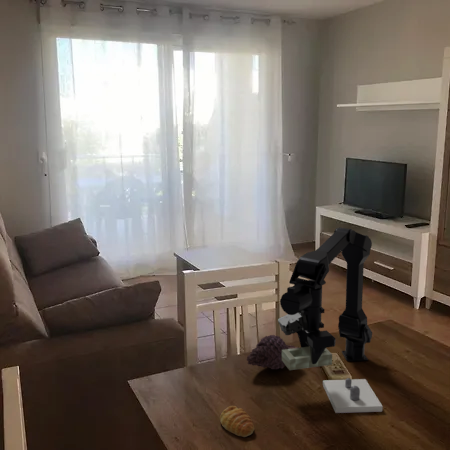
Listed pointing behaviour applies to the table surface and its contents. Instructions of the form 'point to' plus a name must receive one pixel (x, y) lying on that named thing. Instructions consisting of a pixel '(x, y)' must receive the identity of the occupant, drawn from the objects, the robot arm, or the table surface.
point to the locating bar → (304, 358)
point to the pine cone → (269, 352)
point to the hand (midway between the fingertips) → (309, 358)
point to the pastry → (237, 421)
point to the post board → (344, 395)
